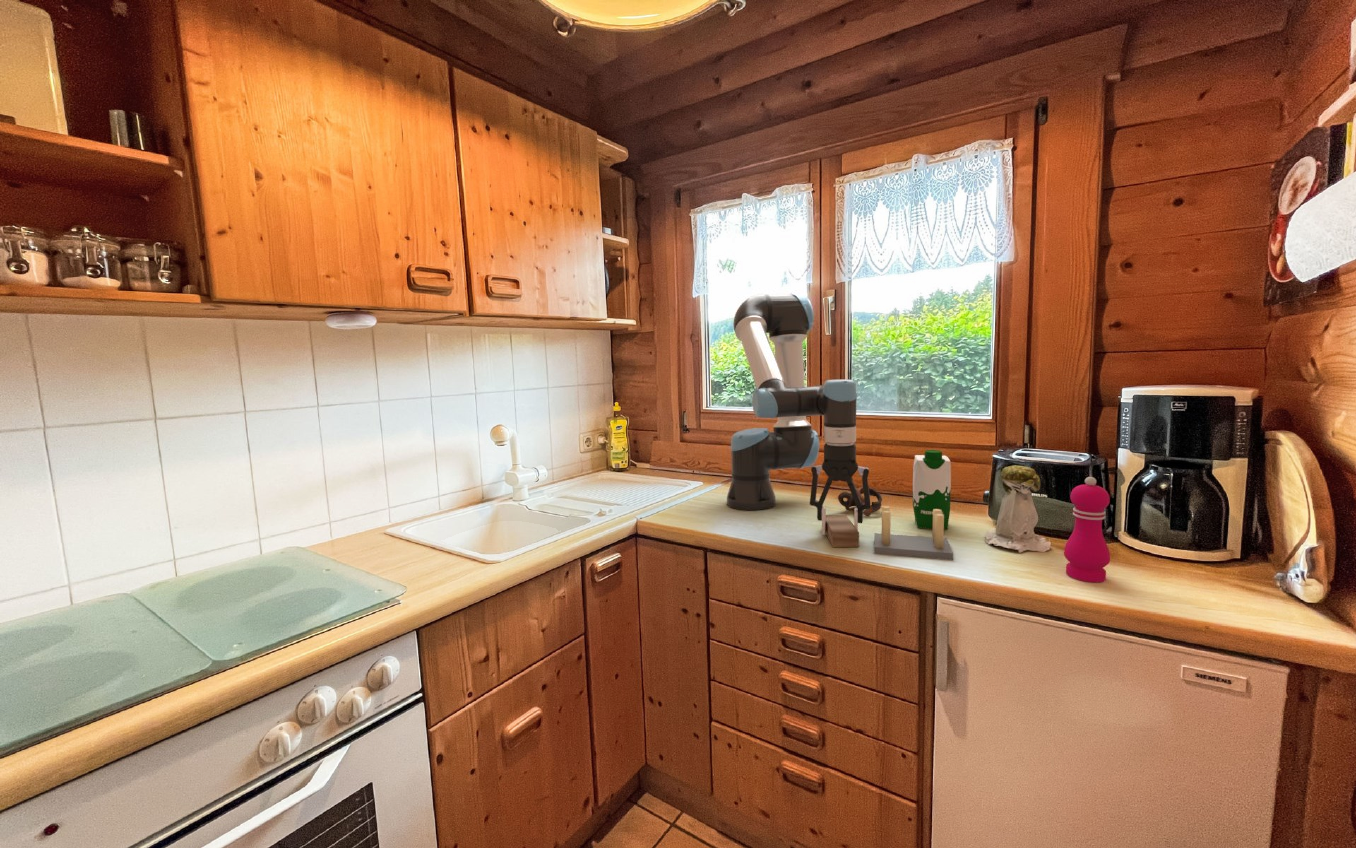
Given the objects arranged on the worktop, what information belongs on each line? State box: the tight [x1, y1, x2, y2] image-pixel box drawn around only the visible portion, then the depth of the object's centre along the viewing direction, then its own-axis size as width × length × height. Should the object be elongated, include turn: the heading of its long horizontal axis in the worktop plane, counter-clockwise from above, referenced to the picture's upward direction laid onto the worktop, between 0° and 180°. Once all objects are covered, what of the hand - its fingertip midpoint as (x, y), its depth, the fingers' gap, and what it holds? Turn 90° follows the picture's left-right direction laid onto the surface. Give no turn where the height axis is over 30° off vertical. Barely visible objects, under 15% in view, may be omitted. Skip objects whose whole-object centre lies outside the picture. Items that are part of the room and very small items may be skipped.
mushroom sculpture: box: [983, 464, 1051, 554], centre depth 122 cm, size 12×13×18 cm
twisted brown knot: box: [837, 486, 883, 517], centre depth 152 cm, size 12×10×8 cm
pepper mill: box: [1063, 476, 1111, 583], centre depth 103 cm, size 7×7×20 cm
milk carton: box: [912, 449, 952, 531], centre depth 138 cm, size 9×9×20 cm
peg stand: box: [873, 505, 954, 561], centre depth 122 cm, size 16×10×9 cm, turn 70°
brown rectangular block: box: [825, 514, 860, 548], centre depth 132 cm, size 14×6×4 cm, turn 174°
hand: (839, 534), depth 132 cm, fingers closed on brown rectangular block, 7 cm apart
